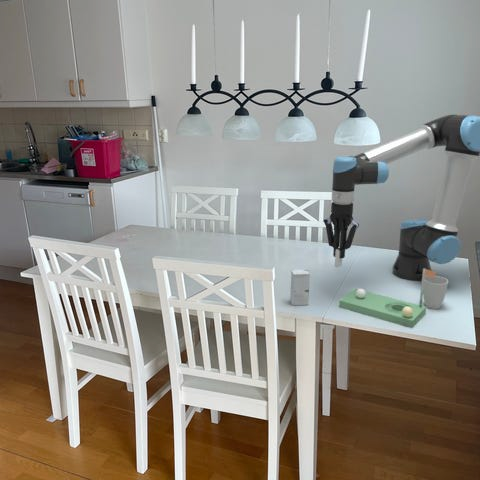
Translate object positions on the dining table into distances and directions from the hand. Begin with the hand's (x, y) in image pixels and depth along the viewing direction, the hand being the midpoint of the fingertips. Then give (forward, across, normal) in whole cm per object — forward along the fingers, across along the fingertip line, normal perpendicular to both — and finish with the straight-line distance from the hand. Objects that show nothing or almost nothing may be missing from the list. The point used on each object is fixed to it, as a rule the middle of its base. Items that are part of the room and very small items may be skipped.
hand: (338, 265), depth 175 cm
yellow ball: (+8, +28, -4) cm, 29 cm away
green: (+13, +17, 0) cm, 21 cm away
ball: (+8, +9, 0) cm, 13 cm away
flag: (+10, +30, +5) cm, 32 cm away
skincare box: (+13, -9, -12) cm, 20 cm away
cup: (+13, +30, +14) cm, 36 cm away
